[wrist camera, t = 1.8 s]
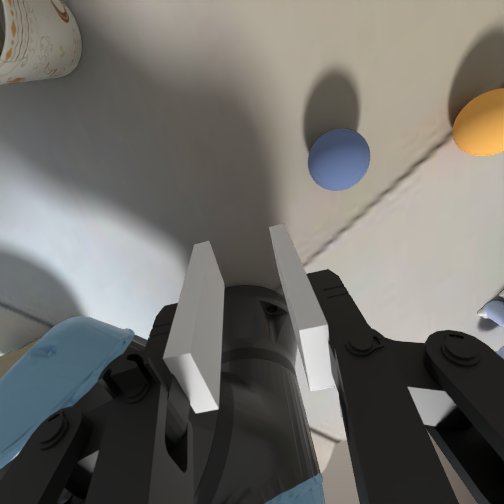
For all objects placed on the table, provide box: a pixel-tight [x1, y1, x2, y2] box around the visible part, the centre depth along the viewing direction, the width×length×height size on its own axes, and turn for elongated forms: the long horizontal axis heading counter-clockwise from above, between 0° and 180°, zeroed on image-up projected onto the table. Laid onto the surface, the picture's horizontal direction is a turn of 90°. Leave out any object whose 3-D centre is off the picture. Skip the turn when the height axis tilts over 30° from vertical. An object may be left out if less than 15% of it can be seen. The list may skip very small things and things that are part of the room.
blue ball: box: [308, 128, 370, 191], centre depth 25 cm, size 6×6×6 cm
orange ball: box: [453, 88, 504, 156], centre depth 24 cm, size 6×6×6 cm
